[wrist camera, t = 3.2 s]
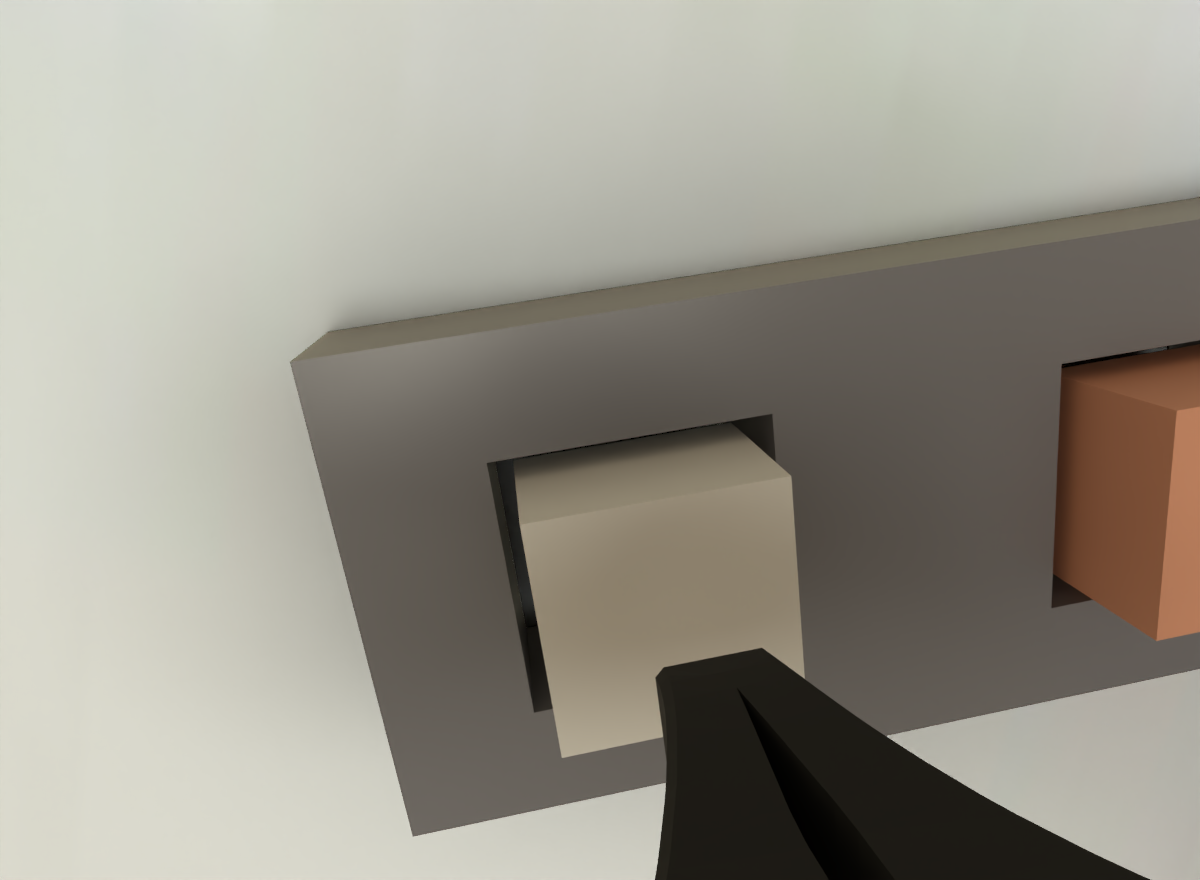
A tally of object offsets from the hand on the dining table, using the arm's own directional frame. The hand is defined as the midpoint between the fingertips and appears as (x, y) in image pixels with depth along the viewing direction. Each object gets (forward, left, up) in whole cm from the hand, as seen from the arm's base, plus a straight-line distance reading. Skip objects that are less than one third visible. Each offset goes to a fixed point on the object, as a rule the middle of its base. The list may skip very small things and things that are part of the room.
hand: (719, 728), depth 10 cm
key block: (-5, 0, -7) cm, 9 cm away
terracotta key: (-10, 0, -5) cm, 11 cm away
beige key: (0, 0, -6) cm, 6 cm away
